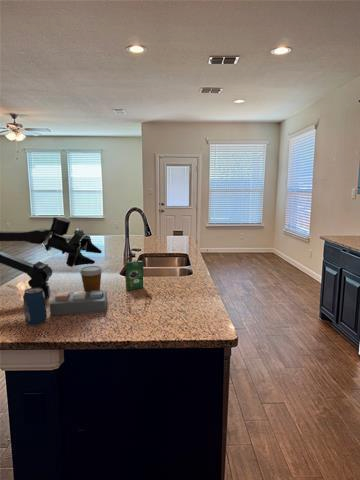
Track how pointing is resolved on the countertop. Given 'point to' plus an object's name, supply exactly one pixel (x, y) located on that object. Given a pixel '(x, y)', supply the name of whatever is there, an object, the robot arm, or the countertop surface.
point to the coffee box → (134, 275)
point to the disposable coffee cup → (91, 278)
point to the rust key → (62, 296)
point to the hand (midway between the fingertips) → (98, 257)
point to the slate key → (96, 294)
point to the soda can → (34, 306)
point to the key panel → (78, 305)
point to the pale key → (79, 295)
